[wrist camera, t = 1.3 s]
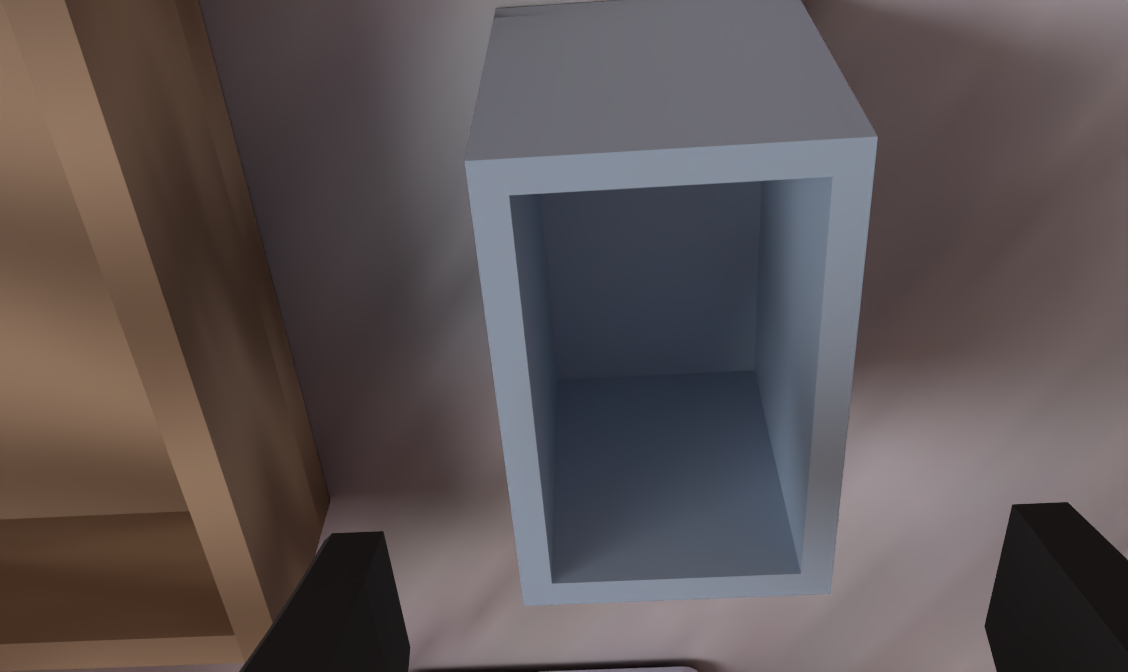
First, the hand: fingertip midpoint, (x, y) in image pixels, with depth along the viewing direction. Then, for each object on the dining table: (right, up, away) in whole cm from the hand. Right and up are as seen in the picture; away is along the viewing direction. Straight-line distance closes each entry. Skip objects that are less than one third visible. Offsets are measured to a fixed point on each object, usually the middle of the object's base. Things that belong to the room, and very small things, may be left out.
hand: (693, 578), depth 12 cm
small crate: (0, +5, +8) cm, 9 cm away
